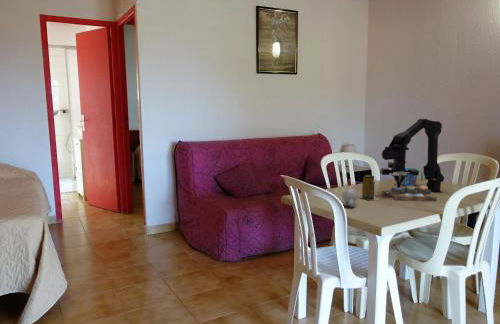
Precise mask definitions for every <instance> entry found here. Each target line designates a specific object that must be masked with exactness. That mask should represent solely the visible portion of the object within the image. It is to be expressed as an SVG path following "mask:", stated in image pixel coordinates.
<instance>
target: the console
mask: <svg viewBox="0 0 500 324" xmlns="http://www.w3.org/2000/svg"><path fill="white" fill-rule="evenodd" d="M401 188H402V190H395V189H394V187H391V189H390V190H389V193H388V194H390V197H391V198H393V200H394V201H411V202H412V201H414V202H437V200H438V197H437V196H435V195H434V194H432V192H431V190H429V189H428V190H419V187H415V190H407V187H404V188H403V187H401Z"/></svg>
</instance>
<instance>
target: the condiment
mask: <svg viewBox="0 0 500 324" xmlns="http://www.w3.org/2000/svg"><path fill="white" fill-rule="evenodd" d="M375 183H376V182H375V176H374V175H372V174H371V175H370V174H365V175H363V180H362V188H361V190H362V191H361V196H359V197H358V198H359V199H363V200H366V201H378V200H379V198H378V197H375Z"/></svg>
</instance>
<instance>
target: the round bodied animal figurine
mask: <svg viewBox="0 0 500 324" xmlns="http://www.w3.org/2000/svg"><path fill="white" fill-rule="evenodd" d="M341 198H342V199H341V201H340V203H341V202H342V203H343V206H344V207H348V206H349V207H351V208H355V206H356V204H357V203H356V201H357V200H358V193H357V192H356V190H355V189H353V188H346V189H345V190H344V191H342V194H341Z"/></svg>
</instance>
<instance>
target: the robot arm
mask: <svg viewBox="0 0 500 324" xmlns="http://www.w3.org/2000/svg"><path fill="white" fill-rule="evenodd" d="M442 124H443V123H441V122H440V121H437V120H431V119H428V118H419V119H418V120H417V121H416V122H415V123H413V124H412V125H411V126H410V127H408V128H407V129H406V130H405V131H402V132H399V133H397V134H395V135H394V136H393V137H392V140H391V142H390V143H389V145H388V146H384V149H383V150H382V152H381V157H382V159H383V160H385V161H388V162H387V168H386V167H385V168H384V167H382V168H380V170H379V174H380V175H381V176H382V175H383V176H389V175H390V176H391V177H393V179H394V181H395V185H396V187H397V188H399V187H401V185H402V182H403V180H404V178H405V177H407V174H412V175H417V176H420V175H419V173H420V172H419V171H418V170H417V169H418V168H416V169H408V170H405V168H406V163H407V161H406V158H407V157H406V156H407V151H409V150H410V149H409V147H408V145H409V144H410V143H411V141H412V138H413V137H414V136H415V135H417V134H418V133H420V132H421V130H423V129H424V132H425V134H426V136H427V163H426V164H425V165H423V167H422V168H423V170H422V174H423V177H424V180H425V181H426V180H427V182H426V183H425V184H426V185H425V186H427V187H428V189H429V190H431V193H442V191H441V187H442V186H441V185H442V182H444V179H445V176H444V175H443V174H442V172H441V171H442V169H441V166H440V165H439V163H438V151H439V149H438V146H439V145H438V144H439V143H438V141H439V136H440V134H441V133H442V128H443V125H442ZM389 160H392V161H393V162H392V161H389Z"/></svg>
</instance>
